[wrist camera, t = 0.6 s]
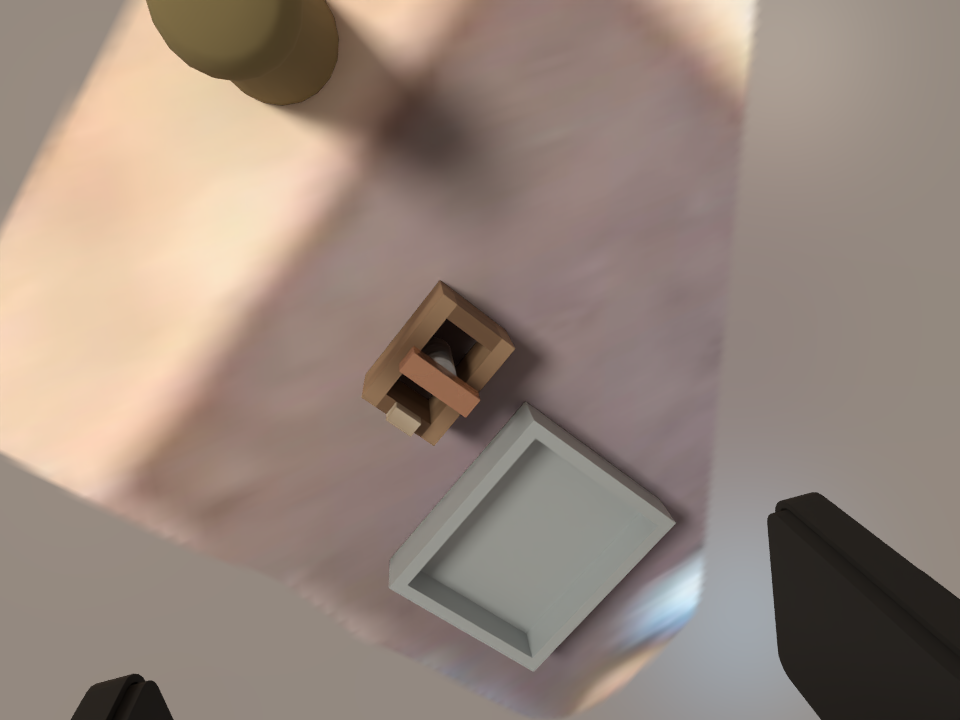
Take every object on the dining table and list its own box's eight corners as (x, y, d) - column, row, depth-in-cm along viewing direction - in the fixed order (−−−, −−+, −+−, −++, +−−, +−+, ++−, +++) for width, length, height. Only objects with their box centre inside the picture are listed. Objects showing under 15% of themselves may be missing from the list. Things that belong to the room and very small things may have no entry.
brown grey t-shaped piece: (415, 319, 37) (417, 348, 32) (473, 361, 38) (484, 395, 33) (396, 343, 37) (395, 376, 32) (454, 384, 38) (461, 422, 33)
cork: (362, 22, 32) (342, -33, 21) (299, 130, 33) (251, 127, 23) (249, -62, 30) (168, -167, 20) (187, 54, 31) (81, 13, 21)
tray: (525, 401, 39) (534, 420, 37) (659, 499, 43) (676, 522, 40) (389, 559, 42) (388, 588, 39) (526, 640, 45) (533, 671, 42)
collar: (439, 279, 36) (444, 297, 32) (505, 330, 38) (517, 353, 34) (365, 374, 38) (360, 403, 34) (431, 419, 39) (434, 452, 35)
